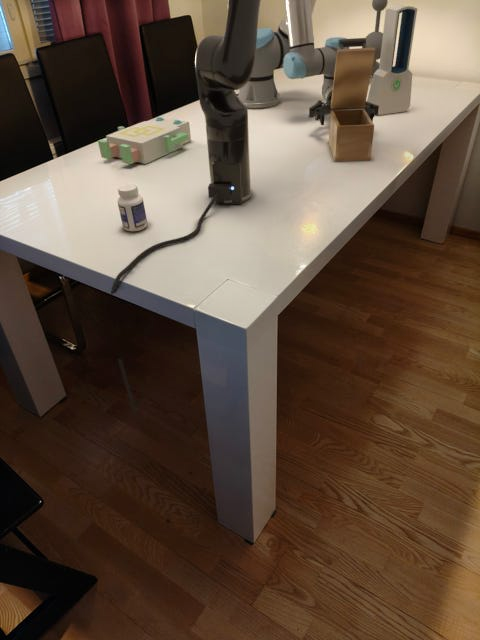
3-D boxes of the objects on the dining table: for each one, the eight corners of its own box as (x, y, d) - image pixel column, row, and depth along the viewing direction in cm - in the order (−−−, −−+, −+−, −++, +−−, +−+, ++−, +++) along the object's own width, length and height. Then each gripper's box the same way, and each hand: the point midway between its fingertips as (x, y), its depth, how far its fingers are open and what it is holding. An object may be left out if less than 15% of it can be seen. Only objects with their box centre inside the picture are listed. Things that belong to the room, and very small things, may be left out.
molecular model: (328, 81, 202) (333, -6, 184) (375, 74, 207) (385, -11, 188) (355, 93, 184) (363, -1, 166) (406, 86, 189) (420, -7, 170)
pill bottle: (149, 220, 107) (142, 181, 102) (146, 231, 103) (138, 191, 98) (125, 221, 107) (116, 182, 102) (121, 232, 103) (112, 193, 98)
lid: (375, 50, 122) (371, 31, 126) (337, 51, 122) (334, 33, 126) (364, 107, 136) (361, 88, 140) (330, 108, 136) (328, 90, 140)
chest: (370, 160, 130) (374, 125, 124) (334, 161, 130) (337, 126, 125) (360, 141, 142) (364, 108, 136) (328, 142, 142) (330, 109, 137)
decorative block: (150, 112, 153) (199, 120, 143) (154, 133, 157) (201, 142, 147) (87, 135, 137) (137, 147, 127) (92, 158, 141) (141, 171, 131)
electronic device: (375, 115, 160) (388, 8, 142) (365, 110, 166) (376, 6, 148) (409, 111, 163) (426, 4, 144) (398, 105, 168) (413, 2, 150)
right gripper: (376, 110, 155) (390, 131, 138) (298, 113, 157) (302, 134, 140) (379, 85, 150) (394, 103, 134) (298, 88, 152) (303, 107, 135)
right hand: (347, 119), depth 137 cm, fingers open, 13 cm apart
